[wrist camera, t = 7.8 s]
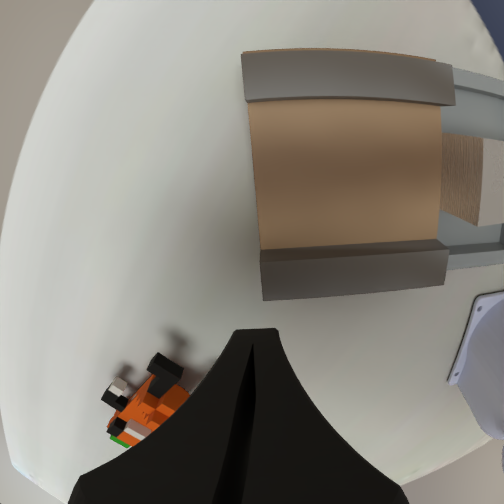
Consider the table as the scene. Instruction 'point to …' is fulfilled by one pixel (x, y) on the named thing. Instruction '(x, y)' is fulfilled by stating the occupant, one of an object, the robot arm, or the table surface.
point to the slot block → (346, 169)
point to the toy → (145, 402)
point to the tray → (480, 125)
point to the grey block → (473, 179)
